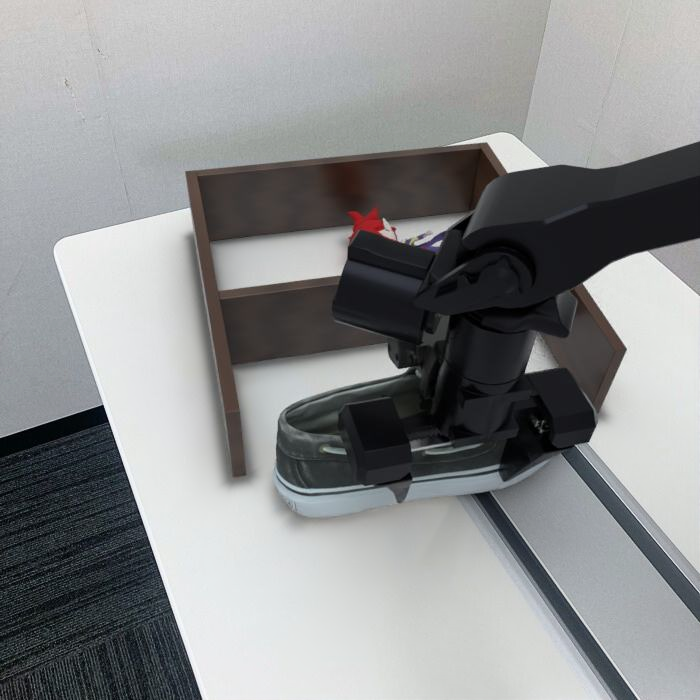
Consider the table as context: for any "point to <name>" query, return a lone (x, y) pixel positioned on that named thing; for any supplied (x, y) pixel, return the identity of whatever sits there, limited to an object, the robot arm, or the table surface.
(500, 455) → the boat shoe
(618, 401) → the table surface
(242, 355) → the shoe rack
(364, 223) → the figurine
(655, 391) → the table surface
